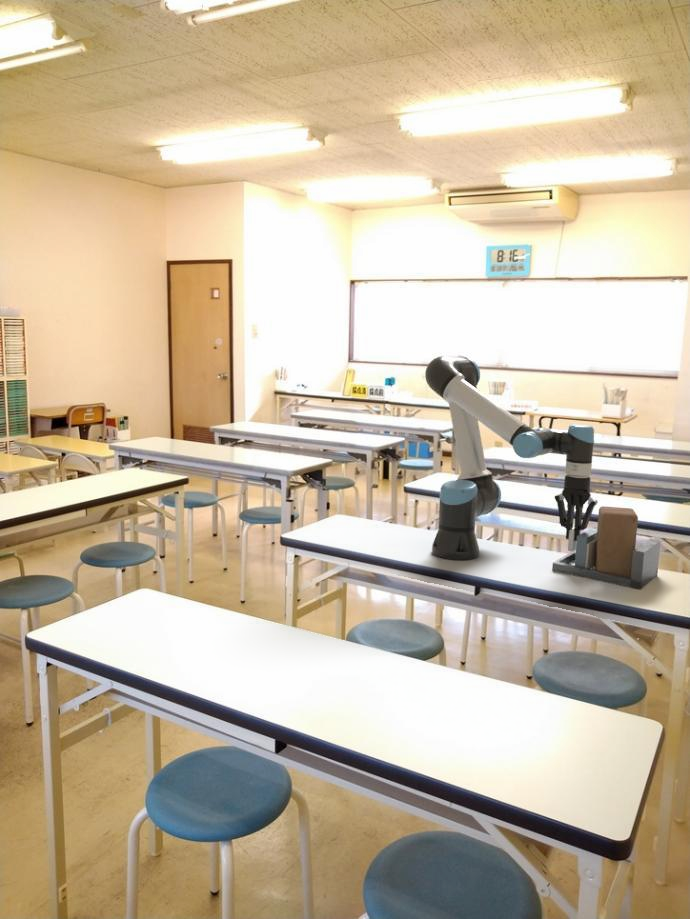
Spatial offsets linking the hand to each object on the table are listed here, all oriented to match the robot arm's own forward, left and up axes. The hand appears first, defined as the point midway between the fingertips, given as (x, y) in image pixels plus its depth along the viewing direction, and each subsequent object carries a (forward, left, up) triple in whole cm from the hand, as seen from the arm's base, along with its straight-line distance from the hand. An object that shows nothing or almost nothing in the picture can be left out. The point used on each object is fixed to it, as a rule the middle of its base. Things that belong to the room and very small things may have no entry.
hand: (571, 550), depth 223 cm
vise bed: (+11, 0, -5) cm, 12 cm away
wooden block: (+13, 0, -5) cm, 14 cm away
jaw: (+5, 0, -5) cm, 7 cm away
